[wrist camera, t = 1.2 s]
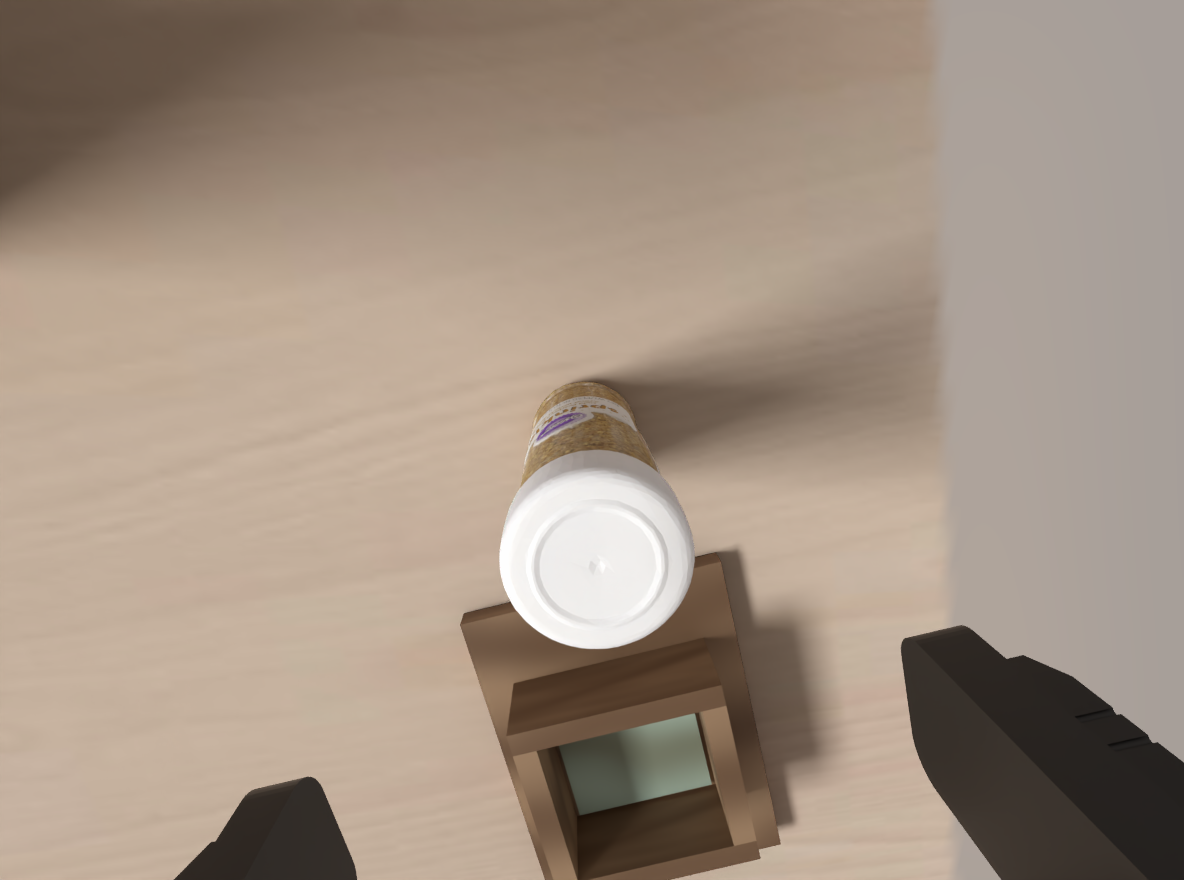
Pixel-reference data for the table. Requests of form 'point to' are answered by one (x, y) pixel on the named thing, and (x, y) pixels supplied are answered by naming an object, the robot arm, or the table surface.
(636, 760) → the wooden square holder
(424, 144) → the table surface
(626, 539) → the sprinkles bottle
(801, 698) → the table surface
